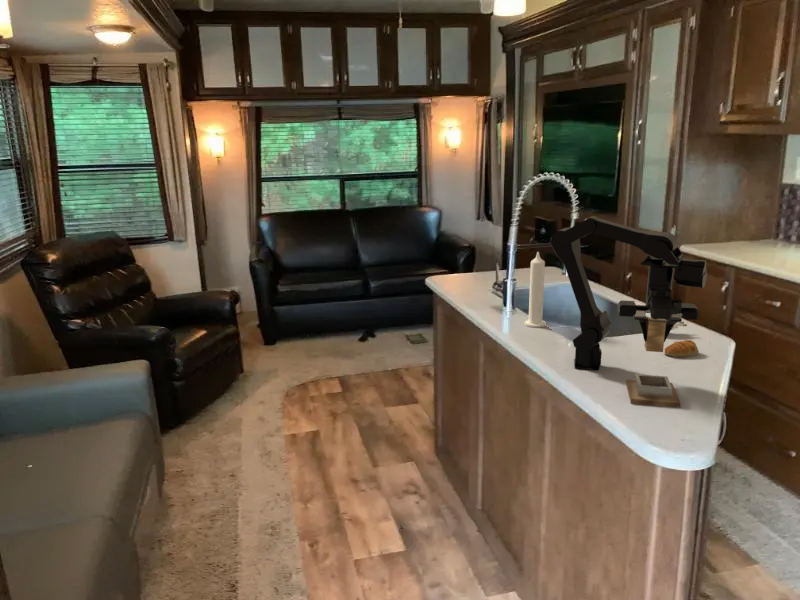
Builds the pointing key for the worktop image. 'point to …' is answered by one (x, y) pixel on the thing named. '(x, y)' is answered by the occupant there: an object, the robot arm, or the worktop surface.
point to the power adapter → (677, 324)
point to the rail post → (655, 335)
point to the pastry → (682, 349)
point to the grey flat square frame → (653, 386)
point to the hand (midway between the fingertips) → (654, 341)
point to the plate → (648, 400)
